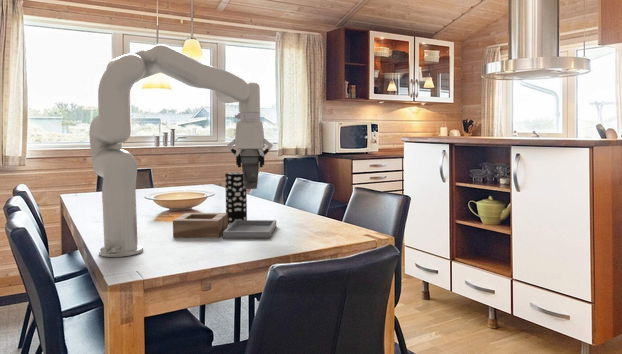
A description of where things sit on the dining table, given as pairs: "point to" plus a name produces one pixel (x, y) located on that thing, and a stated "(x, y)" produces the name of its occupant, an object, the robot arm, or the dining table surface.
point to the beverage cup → (250, 167)
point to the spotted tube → (235, 197)
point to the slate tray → (250, 229)
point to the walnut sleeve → (200, 225)
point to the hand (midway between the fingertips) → (250, 166)
